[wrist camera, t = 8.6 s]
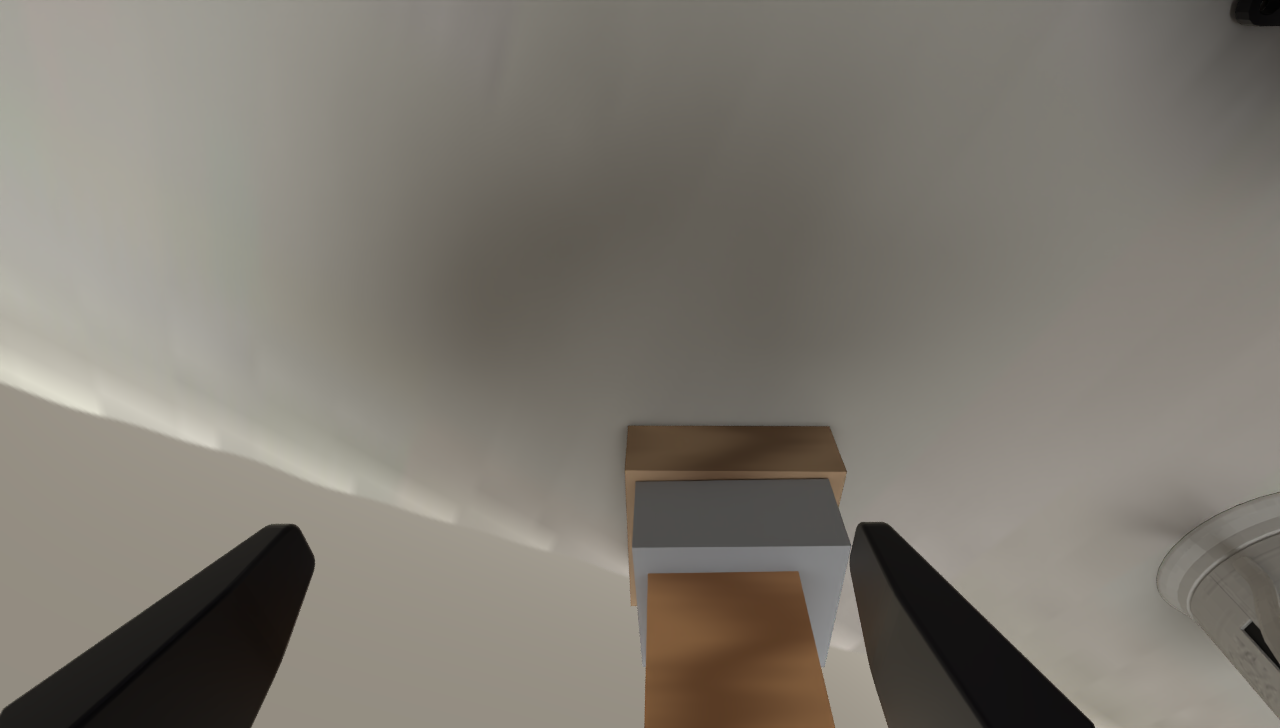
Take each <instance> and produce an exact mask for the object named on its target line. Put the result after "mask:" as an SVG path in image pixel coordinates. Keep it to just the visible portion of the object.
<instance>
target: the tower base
mask: <svg viewBox="0 0 1280 728" xmlns="http://www.w3.org/2000/svg"><path fill="white" fill-rule="evenodd" d="M846 474H847V471H846V468H845V466H844V463H843V461H842V458H841V455H840V453H839V450H838V448H837V445H836V442H835V440H834V437H833V435H832V432H831V430H830V427H829V426H628V434H627V448H626V461H625V486H626V508H627V530H628V552H629V575H630V594H631V606H637V598H636V587H635V576H634V565H633V554H632V538H633V519H634V501H635V482H646V481H713V480H780V479H829V481H830V484H831V487H832V490H833V493H834V496H835V499H836V502H837V505H838V508H839V504H840V499H841V495H842V491H843V486H844V482H845V478H846Z"/></svg>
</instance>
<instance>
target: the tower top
mask: <svg viewBox="0 0 1280 728" xmlns="http://www.w3.org/2000/svg"><path fill="white" fill-rule="evenodd" d="M850 549H851V544H850V541H849V538H848V535H847V532H846V529H845V526H844V523H843V520H842V517H841V514H840V511H839V508H838V505H837V502H836V499H835V496H834V493H833V490H832V487H831V484H830V481H829V479H780V480H713V481H646V482H635V501H634V519H633V538H632V554H633V565H634V576H635V587H636V598H637V609H638V620H639V631H640V642H641V653H642V664H643V667H646V635H647V590H648V574H650V573H713V572H776V571H798V572H799V576H800V580H801V584H802V589H803V593H804V597H805V601H806V606H807V610H808V614H809V618H810V623H811V627H812V631H813V635H814V640H815V644H816V648H817V652H818V657H819V661H820V665H821V667H825V662H826V659H827V654H828V649H829V645H830V640H831V636H832V631H833V627H834V622H835V618H836V613H837V608H838V604H839V599H840V595H841V590H842V586H843V581H844V576H845V572H846V567H847V563H848V558H849V554H850Z"/></svg>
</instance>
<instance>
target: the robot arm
mask: <svg viewBox="0 0 1280 728" xmlns="http://www.w3.org/2000/svg"><path fill="white" fill-rule="evenodd" d="M1262 1H1263V0H1239V2H1238V4H1237V8H1236V11H1235V13H1236V19H1237V21H1238V22H1239V23H1240V24H1243V25H1248V26H1280V0H1269V2H1268V4H1267V5H1266V7H1265V8H1264V9H1263V10H1262V11H1260V5H1261V3H1262ZM314 567H315V559H314V555H313V553H312V551H311V549H310V547H309V545H308V543H307V541H306V539H305V537H304V536H303V534H302V532H301V530H300V528H299V527H298V526H296V525H294V524H271V525H268V526H266V527H264V528H262V529H261V530H259V531H258V532H257V533H255V534H254V535H252V536H251V537H249V538H248V539H247V540H245V541H244V542H242V543H241V544H239V545H238V546H236V547H235V548H234V549H232V550H231V551H229V552H228V553H227V554H225V555H224V556H222V557H221V558H219V559H218V560H217V561H215V562H213V563H212V564H211V565H209V566H208V567H206V568H205V569H203V570H202V571H201V572H199V573H198V574H196V575H195V576H193V577H192V578H190V579H189V580H188V581H186V582H185V583H183V584H182V585H180V586H179V587H177V588H176V589H175V590H173V591H172V592H170V593H169V594H167V595H166V596H165V597H163V598H162V599H160V600H159V601H157V602H156V603H155V604H153V605H152V606H150V607H149V608H147V609H146V610H144V611H143V612H142V613H140V614H139V615H137V616H136V617H134V618H133V619H132V620H130V621H129V622H127V623H126V624H124V625H123V626H121V627H120V628H118V629H117V630H116V631H114V632H113V633H111V634H110V635H108V636H107V637H106V638H104V639H103V640H101V641H100V642H98V643H97V644H95V645H94V646H93V647H91V648H90V649H88V650H87V651H85V652H84V653H82V654H81V655H80V656H78V657H77V658H75V659H74V660H72V661H71V662H70V663H68V664H67V665H66V666H64V667H62V668H61V669H59V670H58V671H57V672H55V673H54V674H52V675H51V676H49V677H48V678H47V679H45V680H44V681H42V682H41V683H40V684H38V685H36V686H35V687H34V688H32V689H31V690H30V691H28V692H26V693H25V694H23V695H22V696H21V697H19V698H18V699H16V700H15V701H13V702H12V703H11V704H9V705H8V706H6V707H5V708H4V709H3V710H2V711H1V713H0V728H251V727H252V725H253V723H254V720H255V718H256V716H257V714H258V712H259V710H260V708H261V705H262V703H263V701H264V699H265V697H266V695H267V693H268V690H269V688H270V686H271V684H272V682H273V680H274V678H275V675H276V673H277V671H278V668H279V666H280V664H281V661H282V659H283V656H284V654H285V651H286V648H287V646H288V643H289V640H290V637H291V634H292V632H293V628H294V626H295V623H296V620H297V617H298V615H299V612H300V609H301V606H302V603H303V601H304V598H305V595H306V592H307V589H308V586H309V583H310V580H311V578H312V575H313V572H314ZM850 572H851V577H852V582H853V587H854V592H855V597H856V602H857V607H858V612H859V617H860V622H861V627H862V632H863V637H864V642H865V647H866V652H867V656H868V661H869V665H870V669H871V673H872V677H873V680H874V684H875V687H876V690H877V693H878V696H879V700H880V703H881V706H882V709H883V712H884V715H885V718H886V722H887V725H888V728H1095V726H1094V724H1093V723H1092V722H1091V721H1090V720H1089V719H1088V718H1087V717H1086V716H1085V715H1084V714H1083V713H1082V712H1081V711H1080V710H1079V709H1078V708H1077V707H1076V706H1075V705H1074V704H1073V703H1072V702H1071V701H1070V700H1069V699H1068V698H1067V697H1066V696H1065V695H1064V694H1063V693H1062V692H1061V691H1060V690H1059V689H1058V688H1057V687H1055V686H1054V685H1053V684H1052V683H1051V682H1050V681H1049V680H1048V679H1047V678H1046V677H1045V676H1044V675H1043V674H1042V673H1041V672H1040V671H1039V670H1038V669H1037V668H1036V667H1035V666H1034V665H1033V664H1032V663H1031V662H1030V661H1029V660H1028V659H1027V658H1026V657H1025V656H1024V655H1023V654H1022V653H1021V652H1019V651H1018V650H1017V649H1016V648H1015V647H1014V646H1013V645H1012V644H1011V643H1010V642H1009V641H1008V640H1007V639H1006V638H1005V637H1004V636H1003V635H1002V634H1001V633H1000V632H999V631H998V630H997V629H996V628H995V627H994V626H993V625H992V624H991V623H990V622H989V621H988V620H987V619H986V618H985V617H984V616H982V615H981V614H980V613H979V612H978V611H977V610H976V609H975V608H974V607H973V606H972V605H971V604H970V603H969V602H968V601H967V600H966V599H965V598H964V597H963V596H962V595H961V594H960V593H959V592H958V591H957V590H956V589H955V588H954V587H953V586H952V585H951V584H950V583H949V582H948V581H946V580H945V579H944V578H943V577H942V576H941V575H940V574H939V573H938V572H937V571H936V570H935V569H934V568H933V567H932V566H931V565H930V564H929V563H928V562H927V561H926V560H925V559H924V558H923V557H922V556H921V555H920V554H919V553H918V552H917V551H916V550H915V549H914V548H913V547H912V546H911V545H909V544H908V543H907V542H906V541H905V540H904V539H903V538H902V537H901V536H900V535H899V534H898V533H897V532H896V531H895V530H894V529H893V528H892V527H891V526H890V525H888V524H887V523H884V522H861V523H859V524H858V526H857V528H856V532H855V537H854V541H853V545H852V550H851V554H850Z"/></svg>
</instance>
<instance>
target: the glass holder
mask: <svg viewBox="0 0 1280 728" xmlns="http://www.w3.org/2000/svg"><path fill="white" fill-rule="evenodd" d="M1157 588H1158V590H1159V593H1160V595H1161V597H1162V598H1163V599H1164V600H1165V601H1166V602H1167V603H1168V604H1169V605H1170V606H1172V607H1174V608H1175V609H1177V610H1179V611H1180V612H1182V613H1184V614H1185V615H1187V616H1189V617H1191V618H1192V619H1193V620H1194V621H1195V622H1196V623H1198V624H1199V625H1200V626H1201V628H1202V629H1203V630H1204V631H1205V632H1206V633H1207V635H1208V636H1209V637H1210V638H1211V639H1212V641H1213V642H1214V643H1215V644H1216V645H1217V646H1218V648H1219V649H1220V650H1221V651H1222V652H1223V654H1224V655H1225V656H1226V657H1227V658H1228V659H1229V661H1230V662H1231V663H1232V664H1233V665H1234V666H1235V668H1236V669H1237V670H1238V671H1239V672H1240V674H1241V675H1242V676H1243V677H1244V678H1245V679H1246V681H1247V682H1248V683H1249V684H1250V685H1251V687H1252V688H1253V689H1254V690H1255V691H1256V692H1257V694H1258V695H1259V696H1260V697H1261V698H1262V699H1263V701H1264V702H1265V703H1266V704H1267V705H1268V707H1269V708H1270V709H1271V710H1272V711H1273V712H1274V714H1275V715H1276V716H1277V717H1278V718H1279V719H1280V492H1279V493H1275V494H1271V495H1268V496H1264V497H1260V498H1257V499H1254V500H1252V501H1249V502H1246V503H1243V504H1240V505H1238V506H1236V507H1233V508H1231V509H1229V510H1227V511H1225V512H1223V513H1220V514H1218V515H1217V516H1215V517H1213V518H1211V519H1210V520H1208V521H1206V522H1204V523H1203V524H1201V525H1200V526H1198V527H1197V528H1195V529H1194V530H1193V531H1191V532H1190V533H1188V534H1187V535H1186V536H1185V537H1184V538H1183V539H1181V540H1180V541H1179V542H1178V543H1177V544H1176V545H1175V546H1174V547H1173V548H1172V549H1171V551H1170V552H1169V553H1168V554H1167V556H1166V557H1165V558H1164V560H1163V562H1162V564H1161V566H1160V568H1159V571H1158V575H1157Z"/></svg>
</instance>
